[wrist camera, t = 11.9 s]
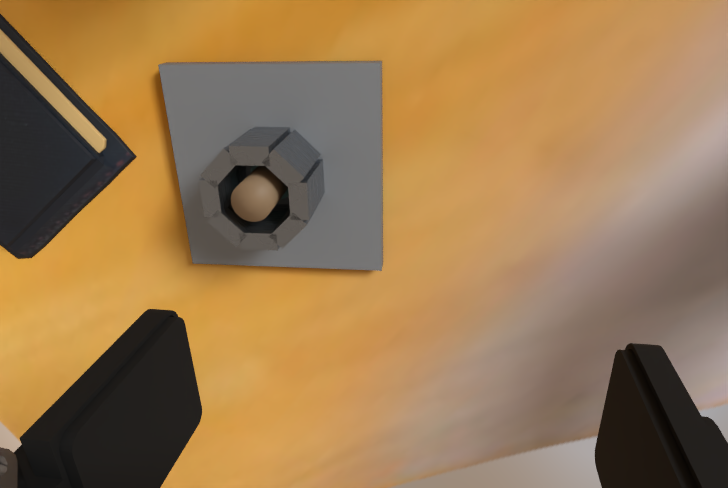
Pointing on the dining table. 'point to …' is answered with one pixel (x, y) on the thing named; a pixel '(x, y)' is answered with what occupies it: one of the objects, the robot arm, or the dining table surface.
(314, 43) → the dining table surface
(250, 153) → the collar
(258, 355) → the dining table surface
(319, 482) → the dining table surface
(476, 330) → the dining table surface
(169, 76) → the post base
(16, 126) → the wallet
